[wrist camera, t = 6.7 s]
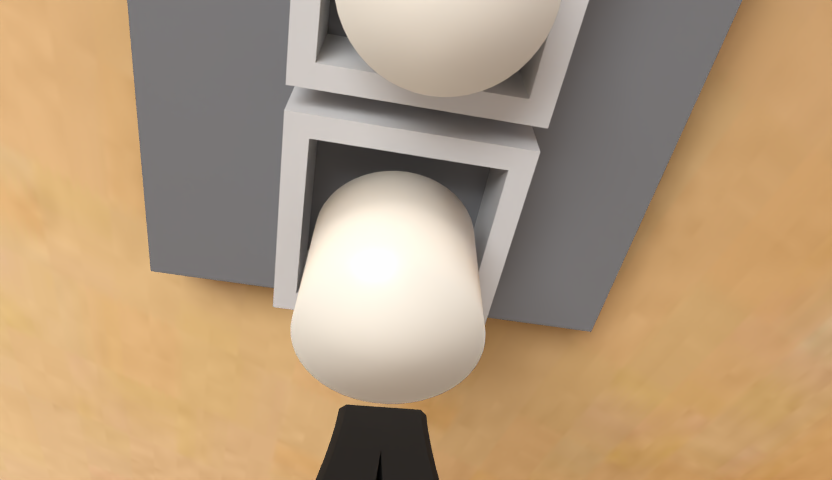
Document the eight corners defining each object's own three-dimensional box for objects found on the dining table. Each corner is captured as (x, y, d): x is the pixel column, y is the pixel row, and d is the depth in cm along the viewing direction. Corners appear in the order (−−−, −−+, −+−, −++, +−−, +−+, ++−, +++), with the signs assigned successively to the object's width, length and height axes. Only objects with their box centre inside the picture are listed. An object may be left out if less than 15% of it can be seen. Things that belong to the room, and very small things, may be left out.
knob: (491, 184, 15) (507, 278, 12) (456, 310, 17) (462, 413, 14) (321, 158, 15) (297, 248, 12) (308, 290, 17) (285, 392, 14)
